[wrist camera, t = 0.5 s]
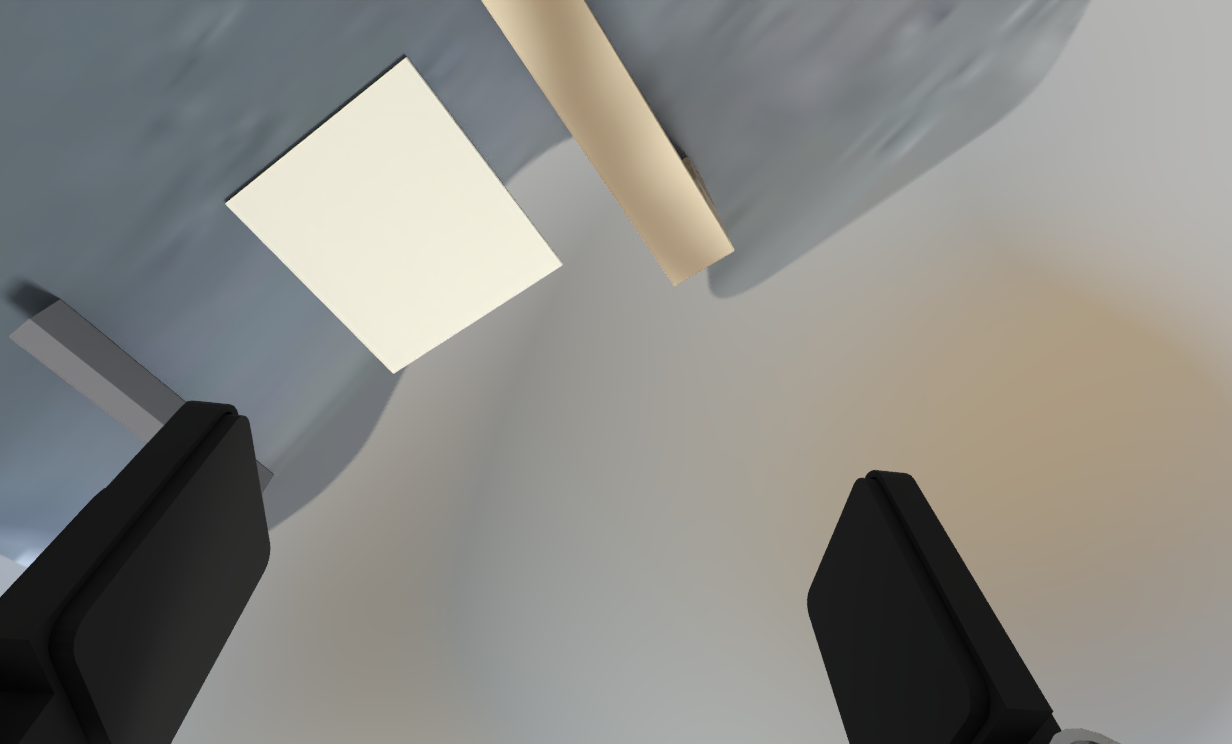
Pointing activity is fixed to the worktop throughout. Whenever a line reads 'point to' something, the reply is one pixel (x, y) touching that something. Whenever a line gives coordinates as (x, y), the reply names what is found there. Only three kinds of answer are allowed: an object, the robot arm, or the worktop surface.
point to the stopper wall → (102, 372)
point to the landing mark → (396, 221)
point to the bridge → (616, 130)
